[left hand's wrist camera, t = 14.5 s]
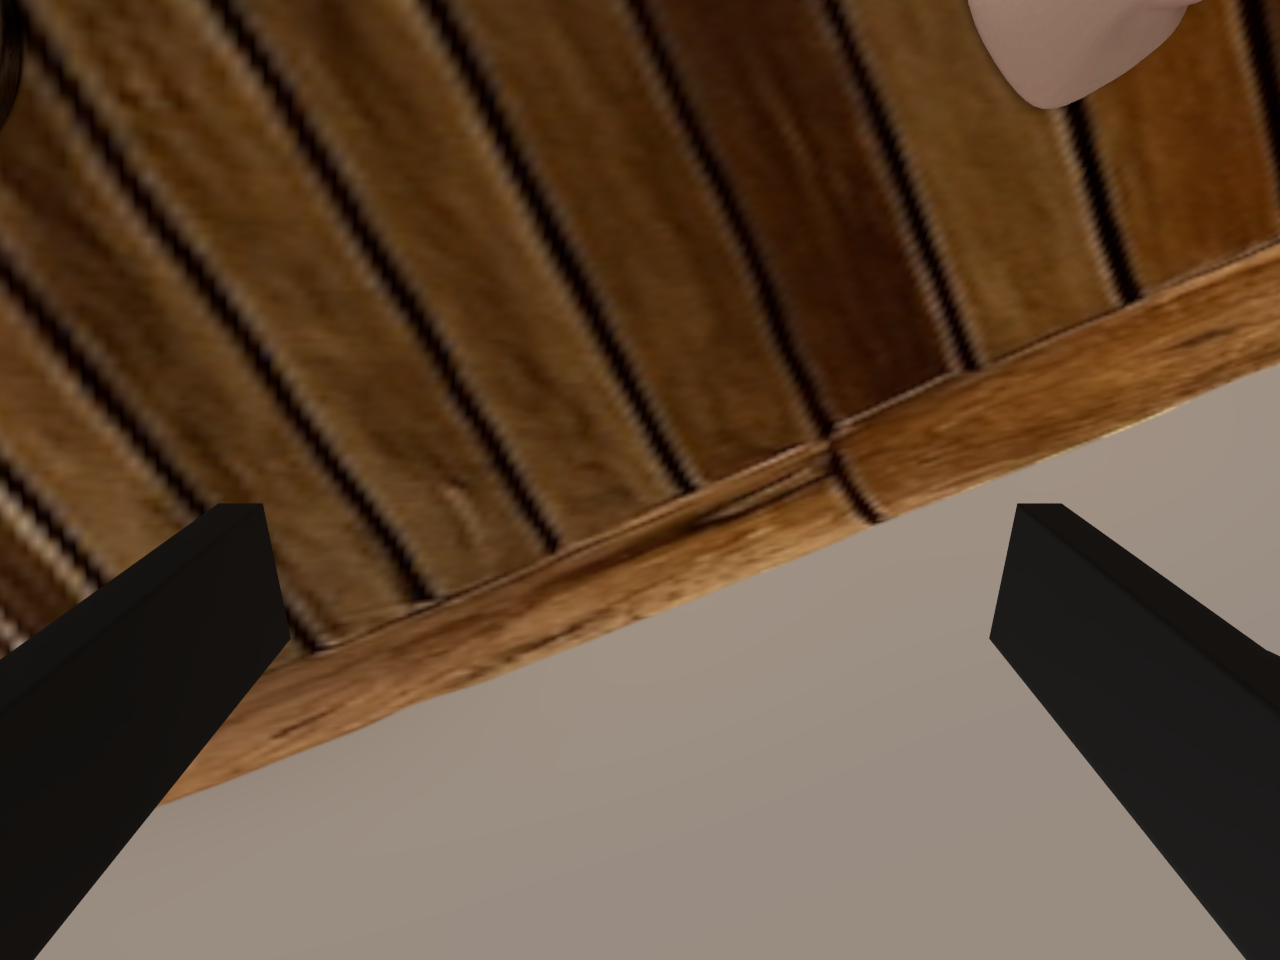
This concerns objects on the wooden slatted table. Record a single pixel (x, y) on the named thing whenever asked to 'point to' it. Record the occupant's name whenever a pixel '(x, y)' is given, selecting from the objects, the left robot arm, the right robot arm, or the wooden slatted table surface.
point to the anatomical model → (1071, 42)
